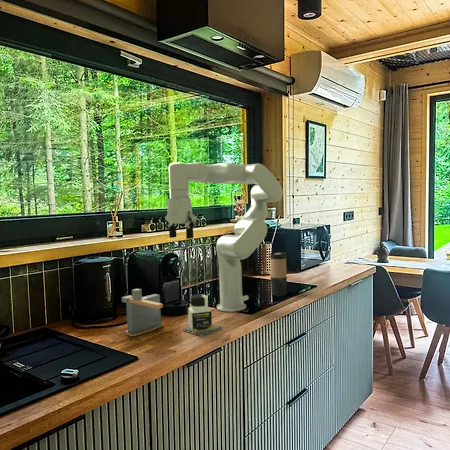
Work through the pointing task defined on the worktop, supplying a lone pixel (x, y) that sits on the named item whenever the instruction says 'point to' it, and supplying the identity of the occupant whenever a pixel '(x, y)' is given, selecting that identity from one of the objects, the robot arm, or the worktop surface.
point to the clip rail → (143, 316)
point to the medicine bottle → (199, 314)
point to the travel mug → (278, 273)
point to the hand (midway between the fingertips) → (181, 237)
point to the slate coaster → (214, 328)
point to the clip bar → (140, 299)
